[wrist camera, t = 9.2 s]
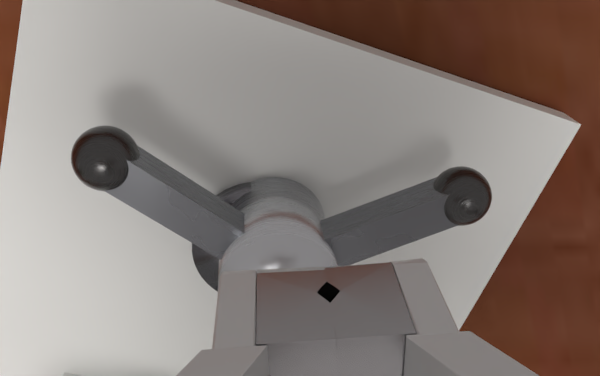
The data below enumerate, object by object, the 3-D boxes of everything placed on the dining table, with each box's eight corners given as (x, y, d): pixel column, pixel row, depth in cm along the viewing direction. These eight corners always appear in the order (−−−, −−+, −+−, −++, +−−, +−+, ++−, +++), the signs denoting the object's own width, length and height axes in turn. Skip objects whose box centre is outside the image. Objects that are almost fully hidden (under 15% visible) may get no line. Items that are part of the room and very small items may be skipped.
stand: (563, 112, 25) (725, 222, 17) (379, 433, 34) (425, 612, 25) (44, -66, 20) (-96, -35, 12) (-17, 365, 29) (-124, 562, 20)
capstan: (212, -59, 19) (204, -45, 15) (472, 157, 24) (524, 216, 19) (2, 244, 23) (-51, 324, 19) (256, 375, 28) (259, 462, 24)
